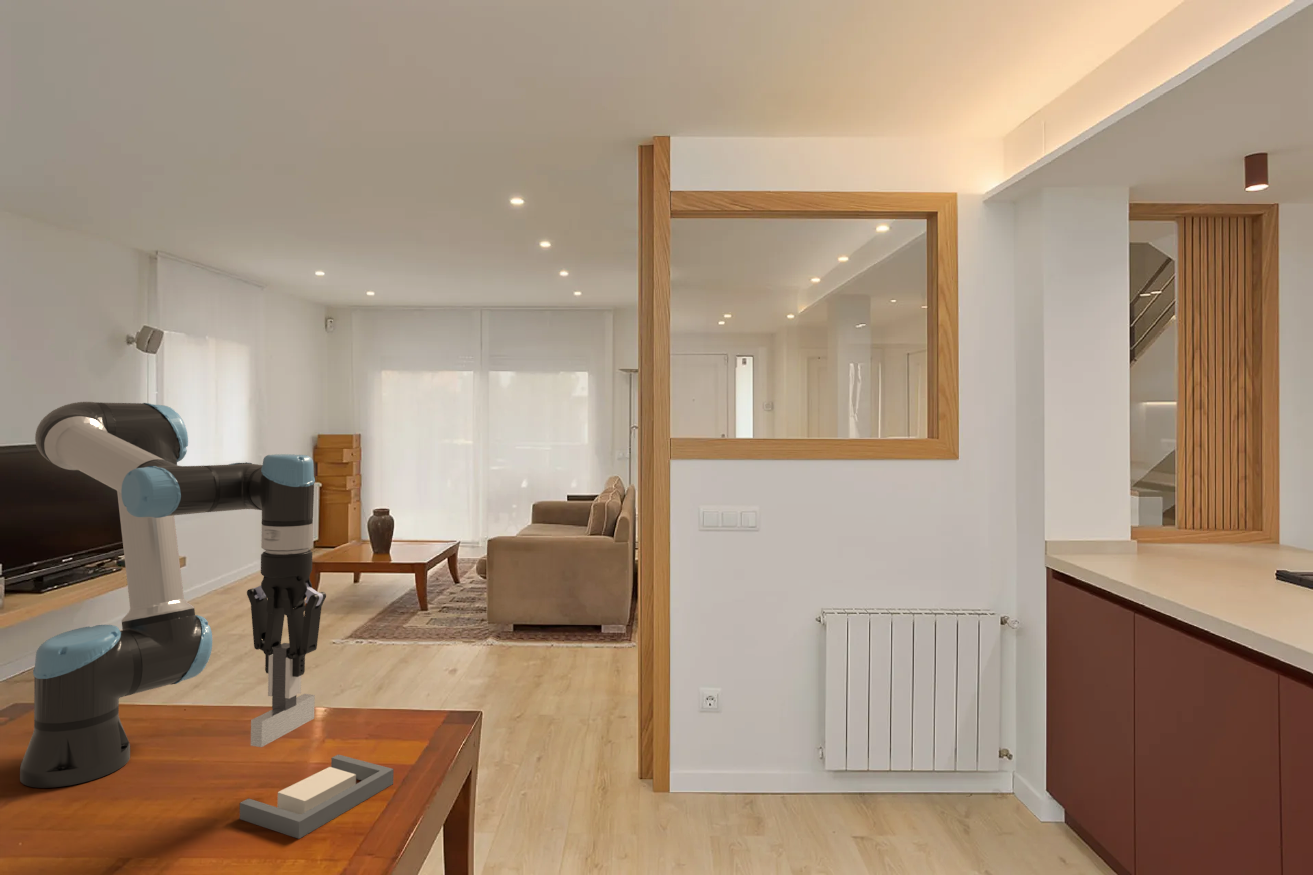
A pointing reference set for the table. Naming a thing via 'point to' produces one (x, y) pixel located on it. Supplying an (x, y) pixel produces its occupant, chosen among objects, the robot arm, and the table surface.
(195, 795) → the table surface
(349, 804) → the frame
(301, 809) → the cream tile
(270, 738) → the grey inverted t block
